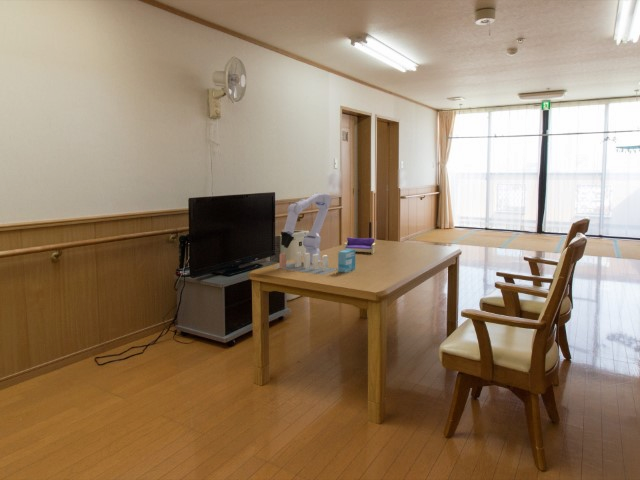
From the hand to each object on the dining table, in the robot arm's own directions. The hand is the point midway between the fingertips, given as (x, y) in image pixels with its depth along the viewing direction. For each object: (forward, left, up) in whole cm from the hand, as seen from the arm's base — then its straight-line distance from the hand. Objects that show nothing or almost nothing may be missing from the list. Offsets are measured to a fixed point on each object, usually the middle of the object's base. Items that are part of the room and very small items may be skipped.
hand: (284, 246), depth 264 cm
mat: (-6, +11, -13) cm, 18 cm away
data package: (-13, +34, -13) cm, 39 cm away
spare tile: (0, -1, -13) cm, 13 cm away
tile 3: (-7, +11, -13) cm, 18 cm away
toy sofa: (-70, +13, -13) cm, 73 cm away
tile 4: (-7, +17, -13) cm, 22 cm away
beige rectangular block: (-7, +5, -13) cm, 15 cm away
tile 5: (-7, +23, -13) cm, 27 cm away
